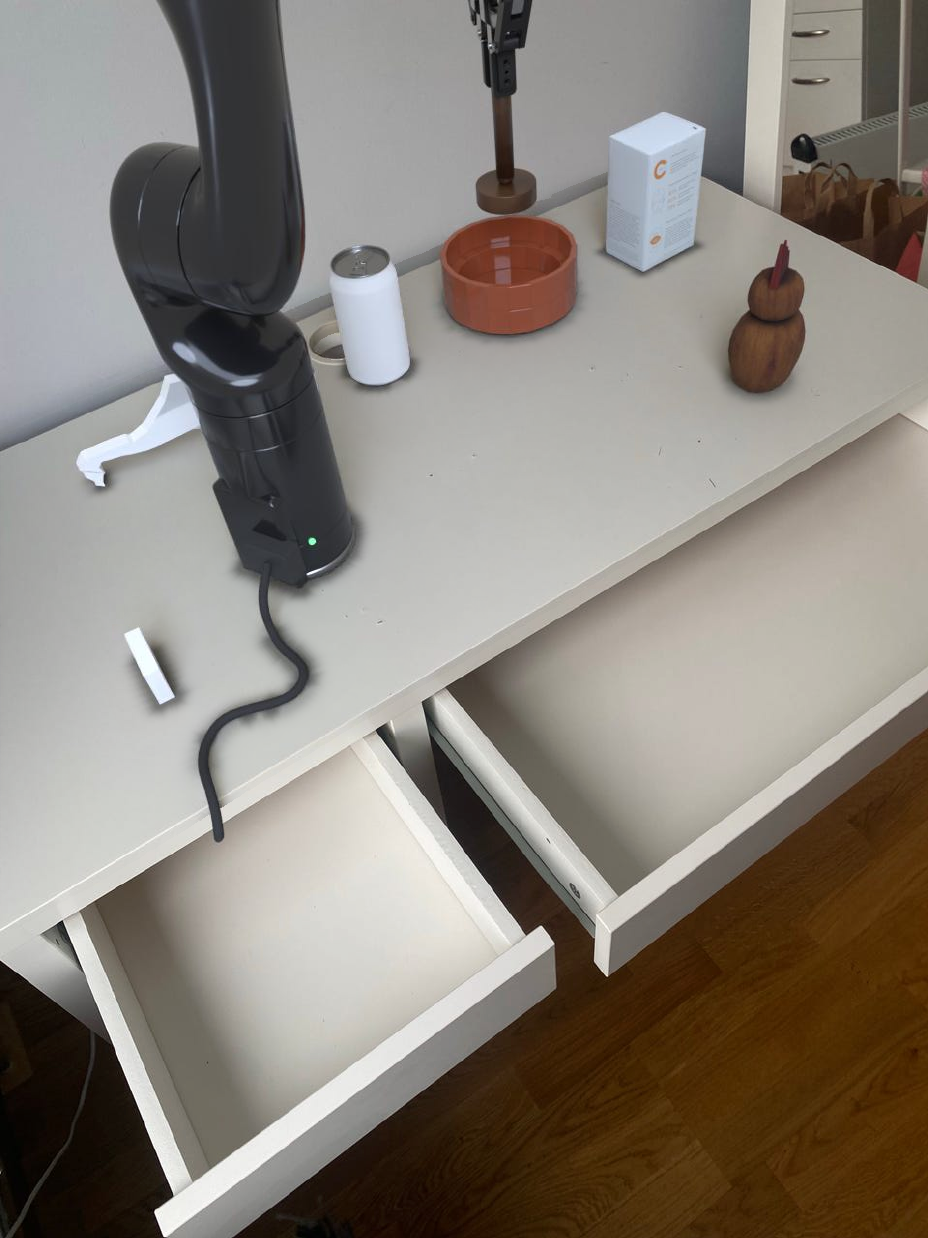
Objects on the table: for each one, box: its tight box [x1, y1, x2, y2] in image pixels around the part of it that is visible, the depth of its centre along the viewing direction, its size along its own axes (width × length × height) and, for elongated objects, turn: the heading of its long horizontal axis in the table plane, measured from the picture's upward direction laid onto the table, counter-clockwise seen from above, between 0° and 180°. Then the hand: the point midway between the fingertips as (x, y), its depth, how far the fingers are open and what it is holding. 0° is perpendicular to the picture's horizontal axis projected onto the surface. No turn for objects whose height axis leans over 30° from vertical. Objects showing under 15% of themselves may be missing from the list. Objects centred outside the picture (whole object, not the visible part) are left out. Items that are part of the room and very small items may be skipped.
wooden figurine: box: [727, 239, 807, 394], centre depth 85 cm, size 7×6×15 cm
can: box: [328, 244, 411, 387], centre depth 92 cm, size 6×6×12 cm
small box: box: [605, 111, 707, 273], centre depth 102 cm, size 8×6×13 cm
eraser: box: [123, 627, 176, 705], centre depth 72 cm, size 1×5×4 cm, turn 31°
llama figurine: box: [75, 373, 201, 487], centre depth 89 cm, size 2×11×18 cm
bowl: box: [439, 214, 579, 335], centre depth 100 cm, size 14×14×6 cm
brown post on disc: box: [475, 32, 538, 216], centre depth 88 cm, size 6×6×15 cm
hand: (500, 88), depth 86 cm, fingers closed on brown post on disc
